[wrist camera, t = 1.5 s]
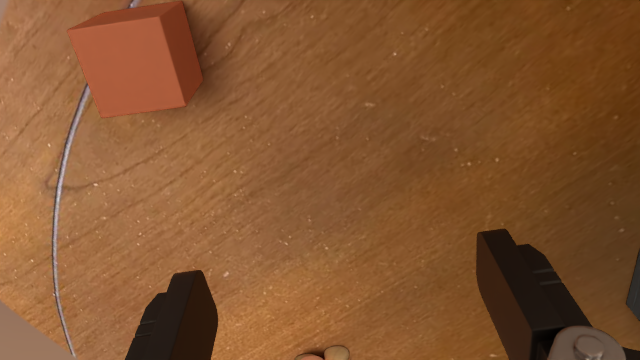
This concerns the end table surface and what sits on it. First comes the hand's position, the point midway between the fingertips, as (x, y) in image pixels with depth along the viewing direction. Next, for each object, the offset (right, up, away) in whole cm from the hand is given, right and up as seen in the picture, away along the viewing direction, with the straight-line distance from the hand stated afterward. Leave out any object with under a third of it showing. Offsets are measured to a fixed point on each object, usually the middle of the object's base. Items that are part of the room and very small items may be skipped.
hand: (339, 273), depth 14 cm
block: (-9, +10, +11) cm, 18 cm away
